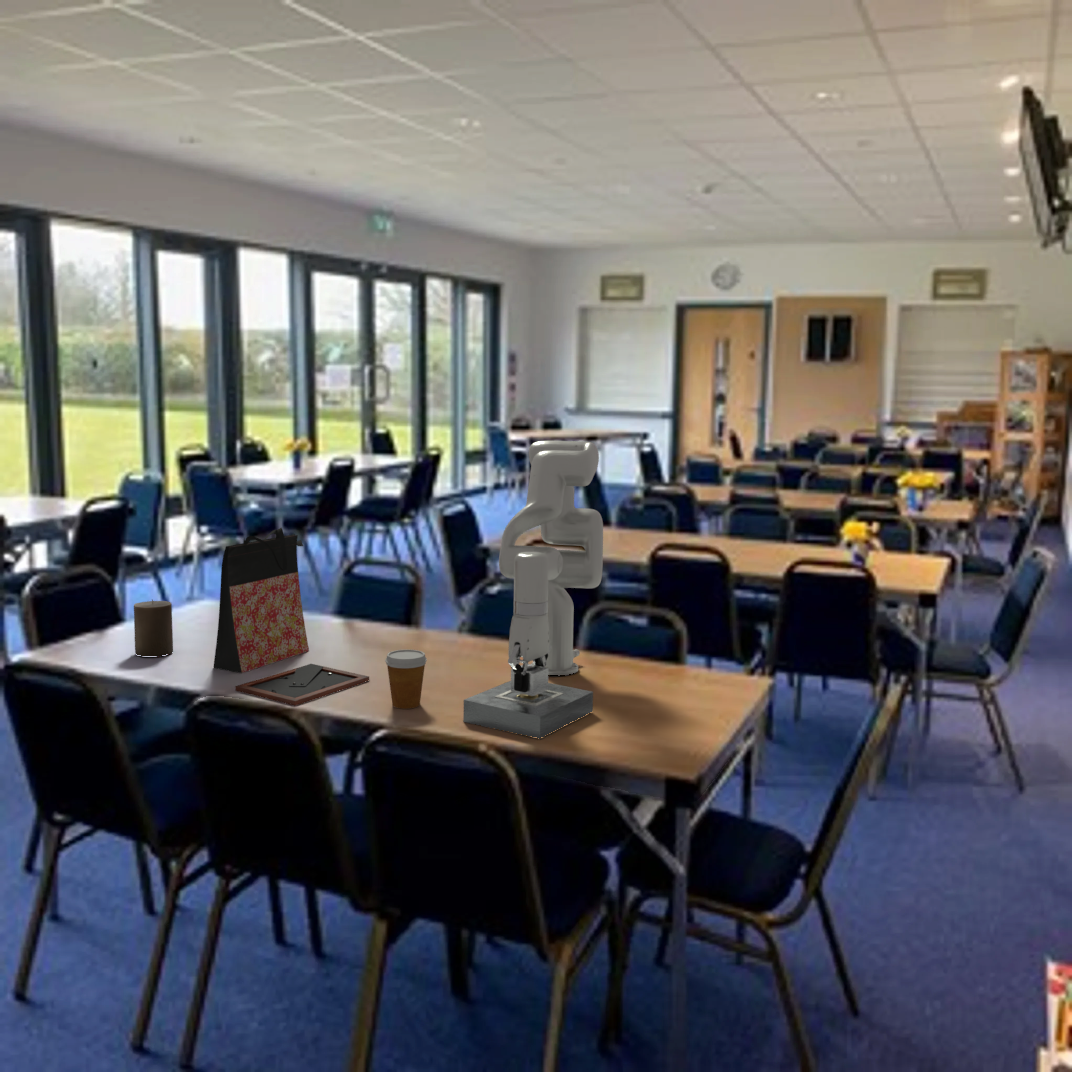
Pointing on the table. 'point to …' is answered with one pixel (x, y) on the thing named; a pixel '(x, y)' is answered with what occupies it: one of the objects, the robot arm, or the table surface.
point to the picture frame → (301, 684)
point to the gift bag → (260, 604)
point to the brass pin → (528, 696)
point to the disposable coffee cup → (406, 677)
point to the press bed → (527, 709)
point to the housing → (534, 680)
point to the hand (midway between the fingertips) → (529, 686)
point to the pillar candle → (153, 628)
